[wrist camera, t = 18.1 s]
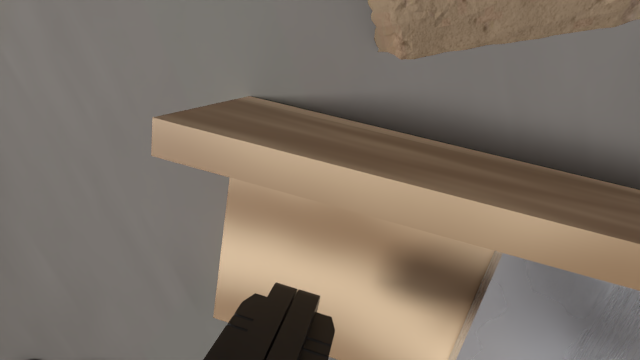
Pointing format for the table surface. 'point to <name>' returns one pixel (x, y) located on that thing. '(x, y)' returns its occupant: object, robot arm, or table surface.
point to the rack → (387, 221)
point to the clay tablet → (486, 22)
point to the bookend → (548, 316)
